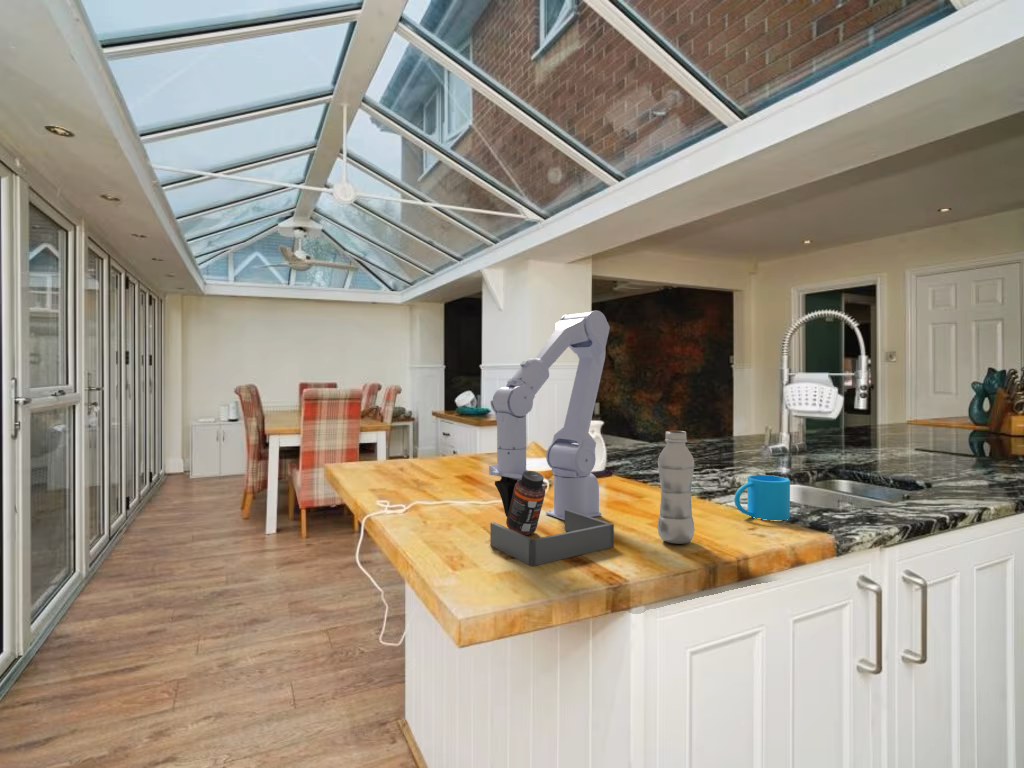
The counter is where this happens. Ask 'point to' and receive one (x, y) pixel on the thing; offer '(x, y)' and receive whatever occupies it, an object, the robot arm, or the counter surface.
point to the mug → (766, 497)
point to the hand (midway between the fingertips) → (511, 516)
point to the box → (555, 540)
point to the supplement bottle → (526, 503)
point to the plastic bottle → (676, 490)
